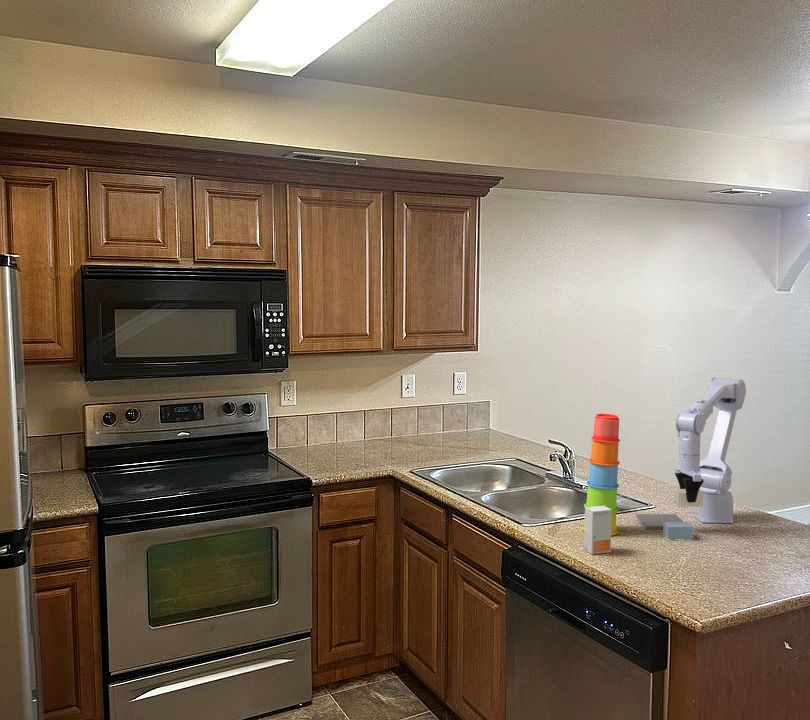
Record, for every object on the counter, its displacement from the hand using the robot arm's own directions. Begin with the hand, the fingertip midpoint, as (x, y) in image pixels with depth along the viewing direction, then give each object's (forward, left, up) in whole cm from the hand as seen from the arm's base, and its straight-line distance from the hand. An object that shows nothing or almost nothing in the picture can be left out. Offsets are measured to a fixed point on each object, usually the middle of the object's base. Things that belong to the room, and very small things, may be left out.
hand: (688, 499), depth 223 cm
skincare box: (+30, +18, -10) cm, 36 cm away
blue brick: (+5, +6, -10) cm, 12 cm away
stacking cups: (+26, +1, -10) cm, 27 cm away
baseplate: (+6, -7, -9) cm, 13 cm away
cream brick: (0, 0, -1) cm, 1 cm away
